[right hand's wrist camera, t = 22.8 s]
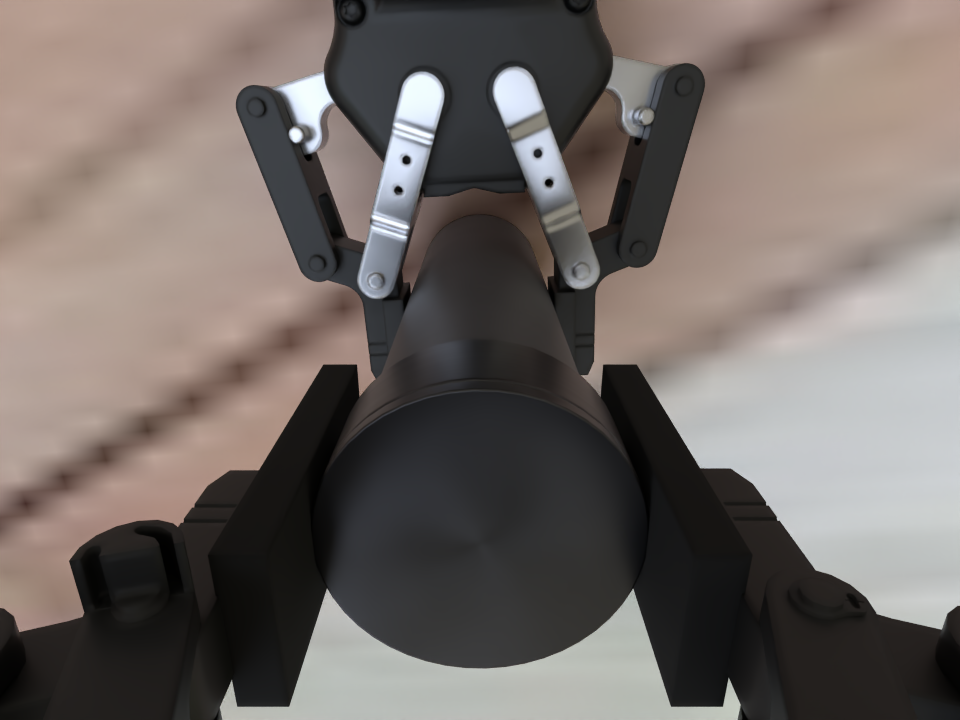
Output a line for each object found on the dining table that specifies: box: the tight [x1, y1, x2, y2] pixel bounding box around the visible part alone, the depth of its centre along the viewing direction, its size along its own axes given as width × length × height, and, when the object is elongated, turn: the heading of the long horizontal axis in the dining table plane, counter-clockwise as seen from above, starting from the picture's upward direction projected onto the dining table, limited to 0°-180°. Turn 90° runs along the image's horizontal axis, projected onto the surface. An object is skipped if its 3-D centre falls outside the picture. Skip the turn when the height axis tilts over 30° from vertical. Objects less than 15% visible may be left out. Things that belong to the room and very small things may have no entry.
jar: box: [382, 215, 579, 374], centre depth 20 cm, size 5×5×18 cm
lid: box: [311, 339, 649, 668], centre depth 11 cm, size 6×6×2 cm
